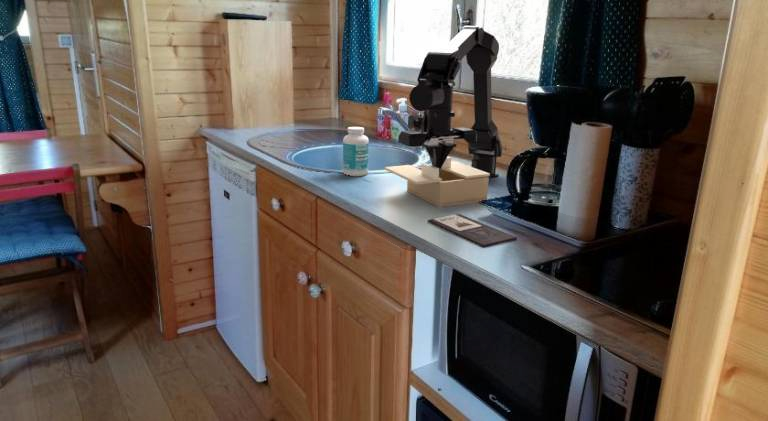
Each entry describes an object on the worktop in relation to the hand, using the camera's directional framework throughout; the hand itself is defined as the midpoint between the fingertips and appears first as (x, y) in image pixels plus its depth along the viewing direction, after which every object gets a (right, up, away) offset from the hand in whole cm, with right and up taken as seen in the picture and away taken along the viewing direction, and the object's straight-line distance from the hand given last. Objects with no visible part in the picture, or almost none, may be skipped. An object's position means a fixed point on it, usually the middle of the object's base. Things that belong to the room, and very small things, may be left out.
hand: (436, 172), depth 139 cm
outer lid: (-6, -1, +3) cm, 6 cm away
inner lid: (+7, +1, +9) cm, 11 cm away
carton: (+3, -5, +9) cm, 11 cm away
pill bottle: (-21, +1, +29) cm, 36 cm away
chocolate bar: (+6, -14, -17) cm, 23 cm away
